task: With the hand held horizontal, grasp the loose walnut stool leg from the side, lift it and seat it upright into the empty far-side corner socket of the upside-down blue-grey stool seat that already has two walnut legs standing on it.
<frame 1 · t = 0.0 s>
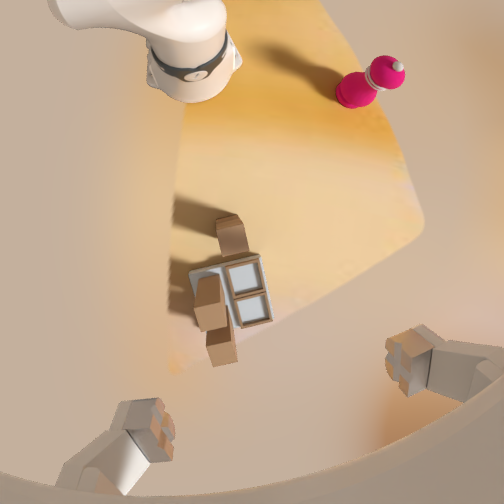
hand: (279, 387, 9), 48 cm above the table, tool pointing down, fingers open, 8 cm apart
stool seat: (232, 293, 59), on the table
pepper mill: (348, 95, 53), on the table
stool leg: (229, 227, 56), on the table
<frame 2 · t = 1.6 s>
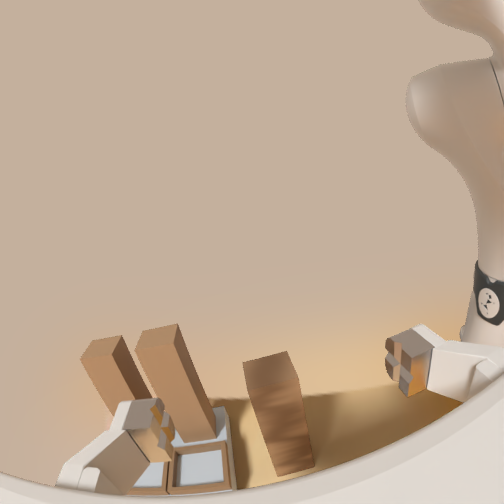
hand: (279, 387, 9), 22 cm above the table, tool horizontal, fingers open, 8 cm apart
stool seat: (181, 463, 28), on the table
stool leg: (292, 459, 26), on the table
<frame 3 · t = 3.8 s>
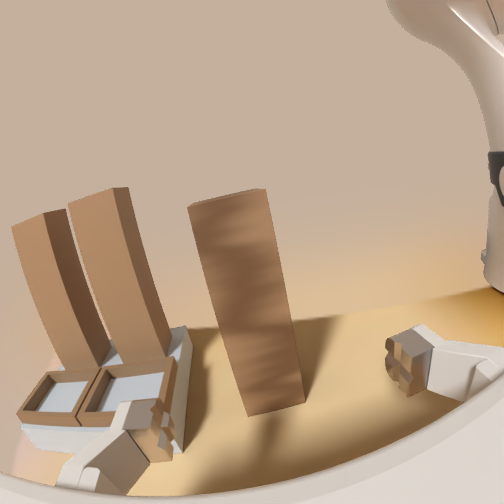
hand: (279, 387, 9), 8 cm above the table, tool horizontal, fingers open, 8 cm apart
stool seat: (119, 397, 21), on the table
stool leg: (271, 392, 20), on the table
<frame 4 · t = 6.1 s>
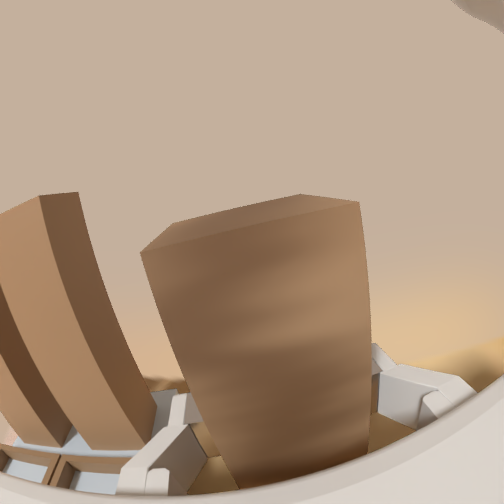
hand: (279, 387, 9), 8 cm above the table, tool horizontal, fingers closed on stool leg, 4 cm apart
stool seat: (91, 485, 12), on the table
stool leg: (307, 502, 10), on the table, touching gripper
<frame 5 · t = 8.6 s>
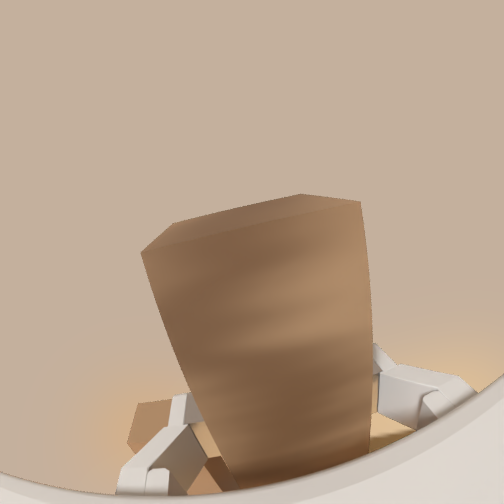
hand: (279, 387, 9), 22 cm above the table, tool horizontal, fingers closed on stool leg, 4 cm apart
stool leg: (307, 503, 10), point 14 cm above the table, touching gripper
when the fingers open (12 cm above the table, at t = 11.0 s): stool leg drops 1 cm, resting on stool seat.
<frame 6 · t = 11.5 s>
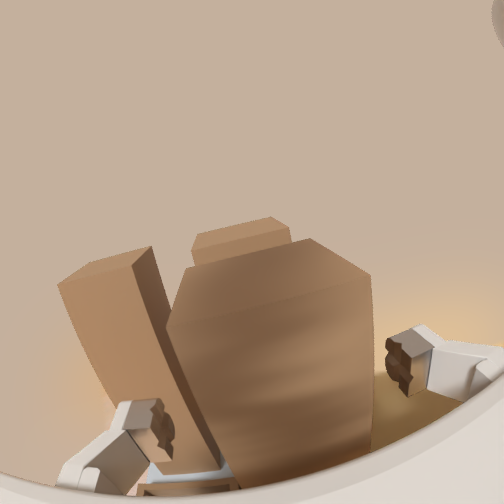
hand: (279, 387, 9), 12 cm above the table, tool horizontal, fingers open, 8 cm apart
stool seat: (251, 497, 14), on the table
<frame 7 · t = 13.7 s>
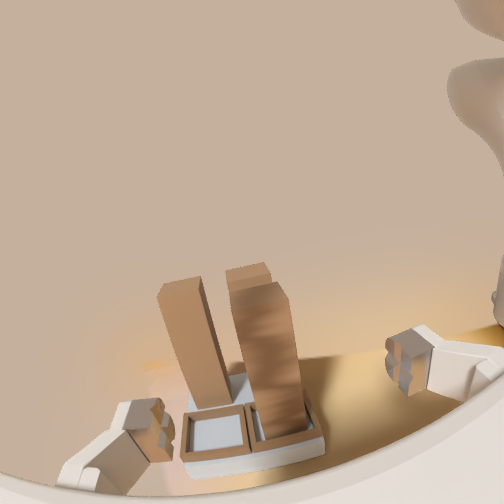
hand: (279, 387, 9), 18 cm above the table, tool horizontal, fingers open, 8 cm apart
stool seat: (250, 424, 29), on the table
stool leg: (282, 422, 25), point 2 cm above the table, touching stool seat
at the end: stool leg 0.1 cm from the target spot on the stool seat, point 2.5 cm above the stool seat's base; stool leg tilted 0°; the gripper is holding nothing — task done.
